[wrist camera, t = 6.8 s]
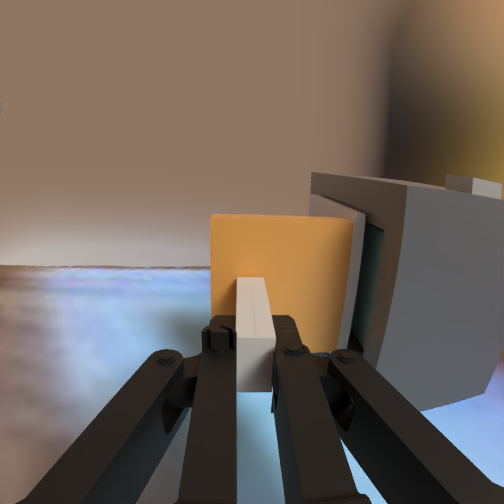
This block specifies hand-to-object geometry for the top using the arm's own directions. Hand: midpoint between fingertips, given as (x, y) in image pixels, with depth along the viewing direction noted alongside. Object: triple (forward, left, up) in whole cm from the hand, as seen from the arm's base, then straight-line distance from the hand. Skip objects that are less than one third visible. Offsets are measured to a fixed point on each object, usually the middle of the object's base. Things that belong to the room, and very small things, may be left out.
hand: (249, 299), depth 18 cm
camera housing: (+13, +6, -7) cm, 16 cm away
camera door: (+2, +6, -5) cm, 8 cm away
